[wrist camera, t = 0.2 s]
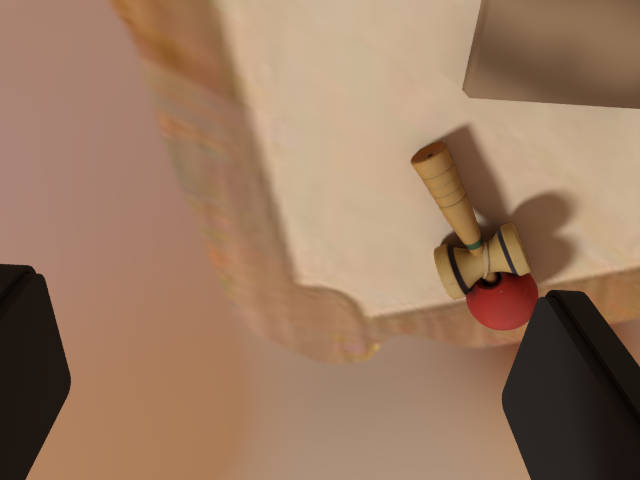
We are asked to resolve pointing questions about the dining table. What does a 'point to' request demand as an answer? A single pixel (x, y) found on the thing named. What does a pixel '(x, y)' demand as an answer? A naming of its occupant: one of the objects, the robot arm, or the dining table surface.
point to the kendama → (477, 251)
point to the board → (557, 52)
